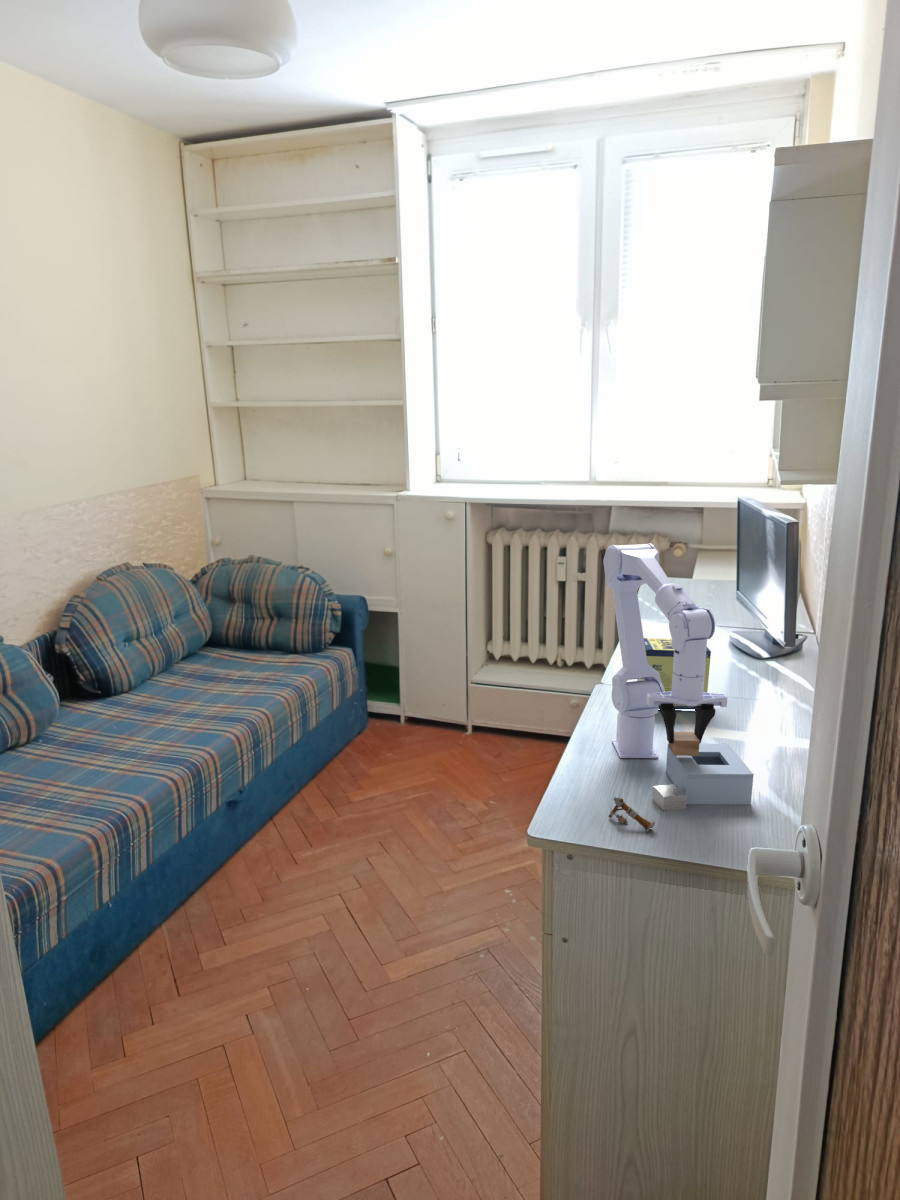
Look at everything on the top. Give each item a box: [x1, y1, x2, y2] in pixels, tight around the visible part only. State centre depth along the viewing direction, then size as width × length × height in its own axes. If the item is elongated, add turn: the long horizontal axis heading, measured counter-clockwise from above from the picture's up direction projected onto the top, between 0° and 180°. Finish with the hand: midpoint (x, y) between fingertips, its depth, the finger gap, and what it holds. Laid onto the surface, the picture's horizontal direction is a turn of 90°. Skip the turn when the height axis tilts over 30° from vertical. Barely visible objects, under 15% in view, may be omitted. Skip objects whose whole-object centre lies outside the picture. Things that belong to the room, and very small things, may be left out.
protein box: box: [636, 637, 712, 709], centre depth 200 cm, size 10×16×16 cm
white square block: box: [652, 783, 688, 811], centre depth 149 cm, size 4×4×3 cm
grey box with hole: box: [665, 743, 755, 806], centre depth 156 cm, size 14×12×6 cm
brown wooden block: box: [667, 731, 700, 756], centre depth 154 cm, size 4×4×3 cm
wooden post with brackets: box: [608, 796, 656, 834], centre depth 142 cm, size 2×8×4 cm, turn 52°
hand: (683, 741), depth 154 cm, fingers closed on brown wooden block, 4 cm apart
